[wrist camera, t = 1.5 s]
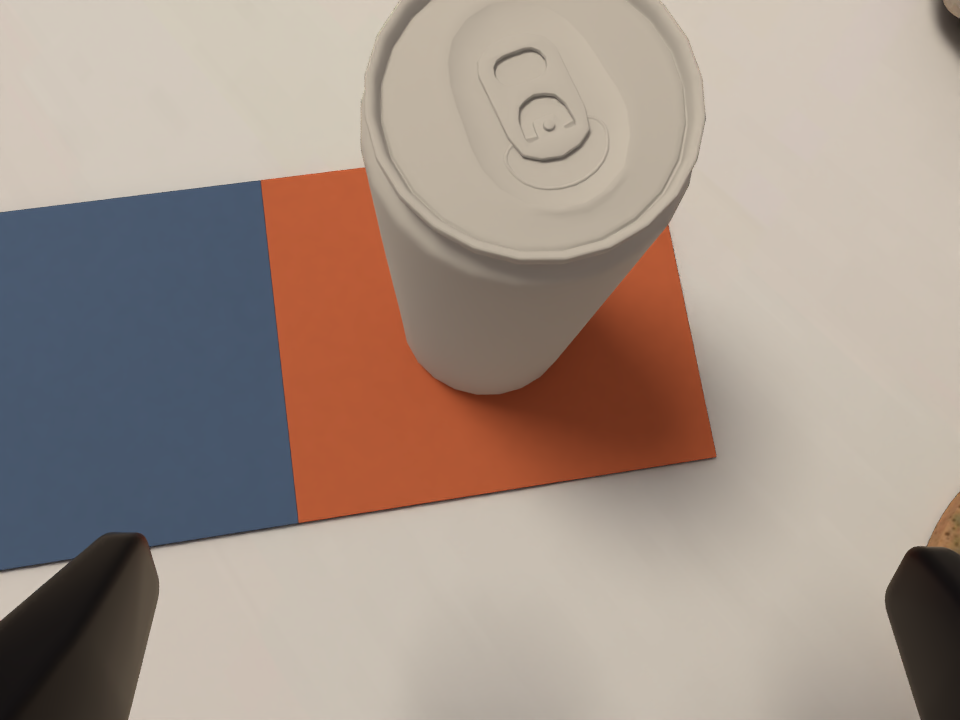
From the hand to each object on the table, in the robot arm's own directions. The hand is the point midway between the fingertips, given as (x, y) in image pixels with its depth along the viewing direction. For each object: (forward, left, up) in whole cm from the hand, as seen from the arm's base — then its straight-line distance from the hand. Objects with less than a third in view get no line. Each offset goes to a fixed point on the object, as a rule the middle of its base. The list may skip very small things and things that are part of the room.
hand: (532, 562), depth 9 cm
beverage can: (+5, -3, -12) cm, 13 cm away
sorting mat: (+7, +2, -12) cm, 14 cm away
